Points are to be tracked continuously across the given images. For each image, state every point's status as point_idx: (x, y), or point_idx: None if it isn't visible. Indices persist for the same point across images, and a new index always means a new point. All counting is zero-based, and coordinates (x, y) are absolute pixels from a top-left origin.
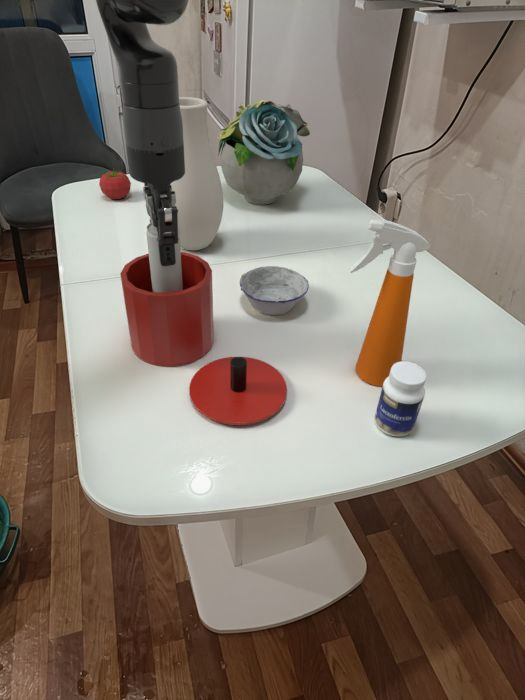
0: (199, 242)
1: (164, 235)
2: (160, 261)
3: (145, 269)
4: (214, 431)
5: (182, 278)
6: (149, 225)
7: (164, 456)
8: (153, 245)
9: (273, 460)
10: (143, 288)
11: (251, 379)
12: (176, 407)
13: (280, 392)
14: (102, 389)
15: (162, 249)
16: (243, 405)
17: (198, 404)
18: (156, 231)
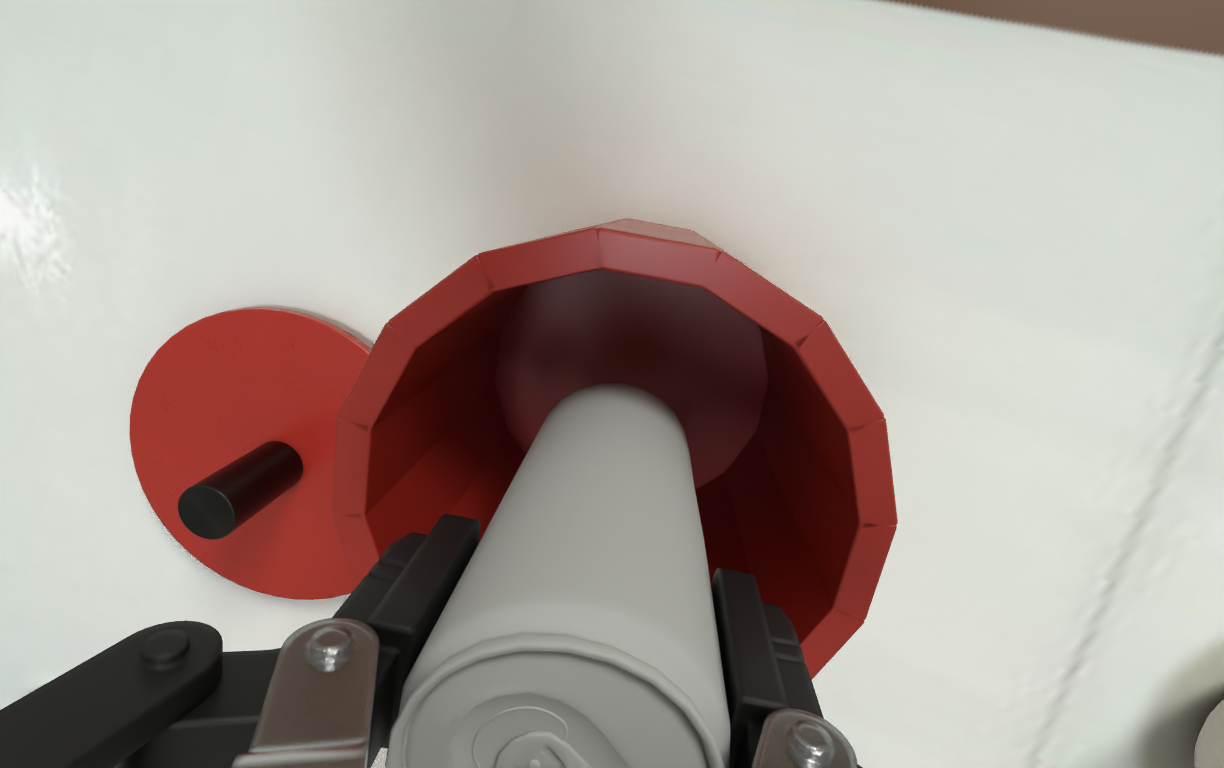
0: (1211, 764)
1: (195, 743)
2: (442, 524)
3: (828, 432)
4: (159, 321)
5: (753, 572)
6: (666, 697)
7: (101, 144)
8: (488, 568)
9: (21, 415)
10: (796, 373)
11: (299, 514)
12: (290, 257)
13: (220, 557)
14: (466, 41)
15: (376, 605)
16: (197, 440)
17: (241, 320)
18: (361, 710)
